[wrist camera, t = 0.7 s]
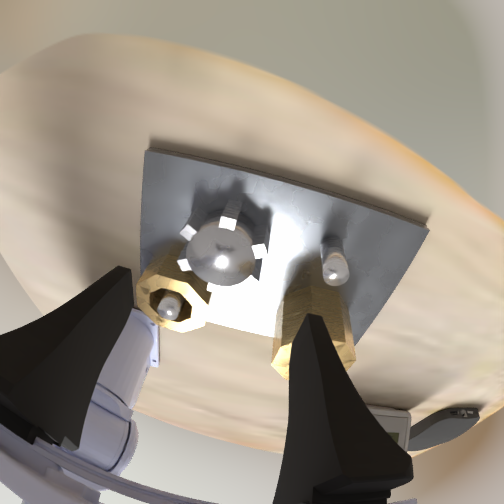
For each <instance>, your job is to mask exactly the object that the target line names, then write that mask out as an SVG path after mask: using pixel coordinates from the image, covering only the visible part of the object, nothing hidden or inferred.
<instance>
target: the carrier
mask: <svg viewBox="0 0 504 504" xmlns="http://www.w3.org/2000/svg"><path fill="white" fill-rule="evenodd" d="M429 231H430V230H429V229H428V228H427V226H426V225H424V224H422V223H419V222H417V221H414V220H412V219H409V218H406V217H404V216H401V215H398V214H395V213H393V212H390V211H387V210H384V209H381V208H379V207H376V206H373V205H370V204H367V203H364V202H361V201H358V200H355V199H352V198H349V197H346V196H343V195H340V194H337V193H334V192H330V191H327V190H324V189H321V188H317V187H314V186H311V185H307V184H304V183H300V182H297V181H293V180H290V179H286V178H283V177H279V176H275V175H272V174H268V173H264V172H260V171H256V170H252V169H248V168H244V167H240V166H236V165H232V164H228V163H224V162H219V161H215V160H210V159H206V158H201V157H197V156H192V155H187V154H182V153H177V152H172V151H167V150H162V149H156V148H151V147H150V148H148V149H147V150H145V157H144V169H143V183H142V202H141V236H140V265H141V277H140V279H139V281H138V282H137V284H136V295H137V306H138V307H139V308H140V309H141V310H142V311H143V312H144V313H145V314H146V315H147V316H148V317H149V318H150V319H151V320H152V321H153V322H154V323H155V324H156V325H159V326H162V327H165V328H169V329H172V330H175V331H179V332H182V333H183V332H186V331H189V330H192V329H195V328H199V327H202V326H204V325H205V321H209V322H213V323H216V324H220V325H224V326H228V327H232V328H236V329H240V330H244V331H249V332H253V333H257V334H261V335H266V336H270V337H274V329H275V317H276V313H277V311H278V309H279V306H280V304H281V301H282V299H283V297H284V296H285V295H287V294H290V293H293V292H295V291H298V290H300V289H303V288H306V287H308V286H316V287H320V288H324V289H328V290H332V291H336V292H339V293H340V295H341V297H342V299H343V301H344V303H345V305H346V306H347V308H348V310H349V315H350V321H351V328H352V334H353V341H354V346H355V345H356V344H357V342H358V341H359V340H360V338H361V337H362V336H363V334H364V333H365V332H366V330H367V329H368V327H369V326H370V325H371V323H372V322H373V320H374V319H375V318H376V316H377V315H378V313H379V312H380V310H381V309H382V308H383V306H384V305H385V303H386V302H387V300H388V299H389V297H390V296H391V294H392V293H393V291H394V290H395V288H396V286H397V285H398V283H399V282H400V280H401V279H402V277H403V275H404V274H405V272H406V271H407V269H408V267H409V266H410V264H411V262H412V261H413V259H414V257H415V256H416V254H417V252H418V250H419V249H420V247H421V245H422V243H423V242H424V240H425V238H426V236H427V234H428V233H429Z"/></svg>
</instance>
